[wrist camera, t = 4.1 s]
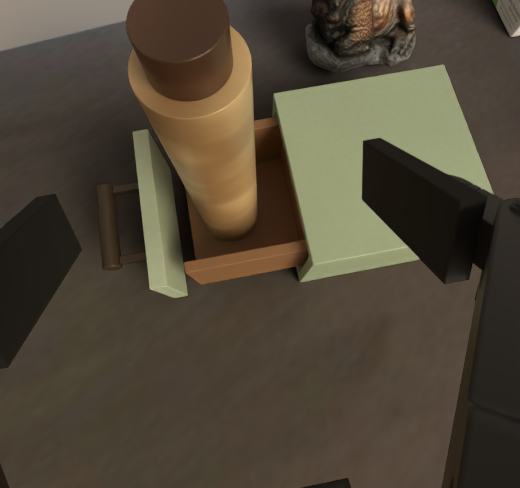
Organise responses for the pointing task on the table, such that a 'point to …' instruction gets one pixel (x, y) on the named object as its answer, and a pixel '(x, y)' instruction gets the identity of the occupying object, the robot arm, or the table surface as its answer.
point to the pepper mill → (199, 104)
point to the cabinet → (351, 155)
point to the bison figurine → (360, 33)
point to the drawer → (205, 244)
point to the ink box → (509, 15)
